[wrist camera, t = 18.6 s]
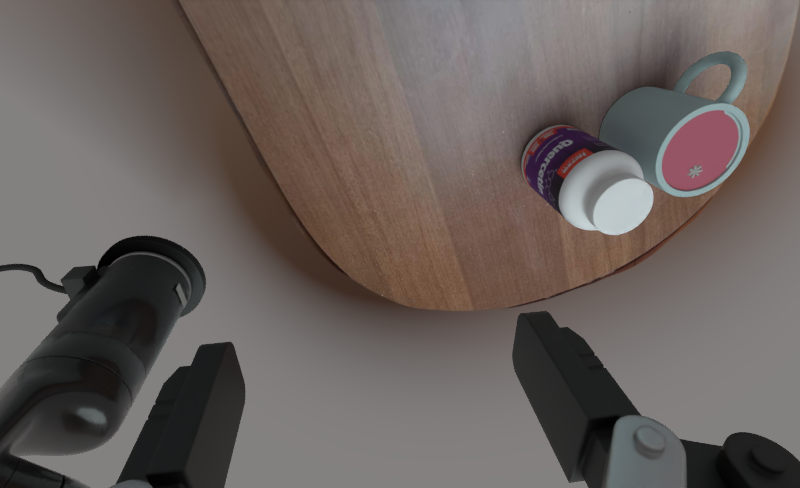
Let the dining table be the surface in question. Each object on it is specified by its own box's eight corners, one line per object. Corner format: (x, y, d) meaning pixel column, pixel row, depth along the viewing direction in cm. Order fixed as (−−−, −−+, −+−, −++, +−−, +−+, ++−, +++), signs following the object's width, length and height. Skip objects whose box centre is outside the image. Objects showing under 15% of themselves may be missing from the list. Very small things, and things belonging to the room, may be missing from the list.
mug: (642, 175, 51) (703, 208, 43) (584, 150, 49) (636, 179, 40) (718, 65, 46) (807, 77, 37) (657, 29, 43) (737, 33, 34)
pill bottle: (537, 113, 46) (611, 150, 33) (596, 134, 48) (686, 177, 35) (506, 179, 49) (562, 235, 37) (562, 196, 51) (633, 255, 39)
